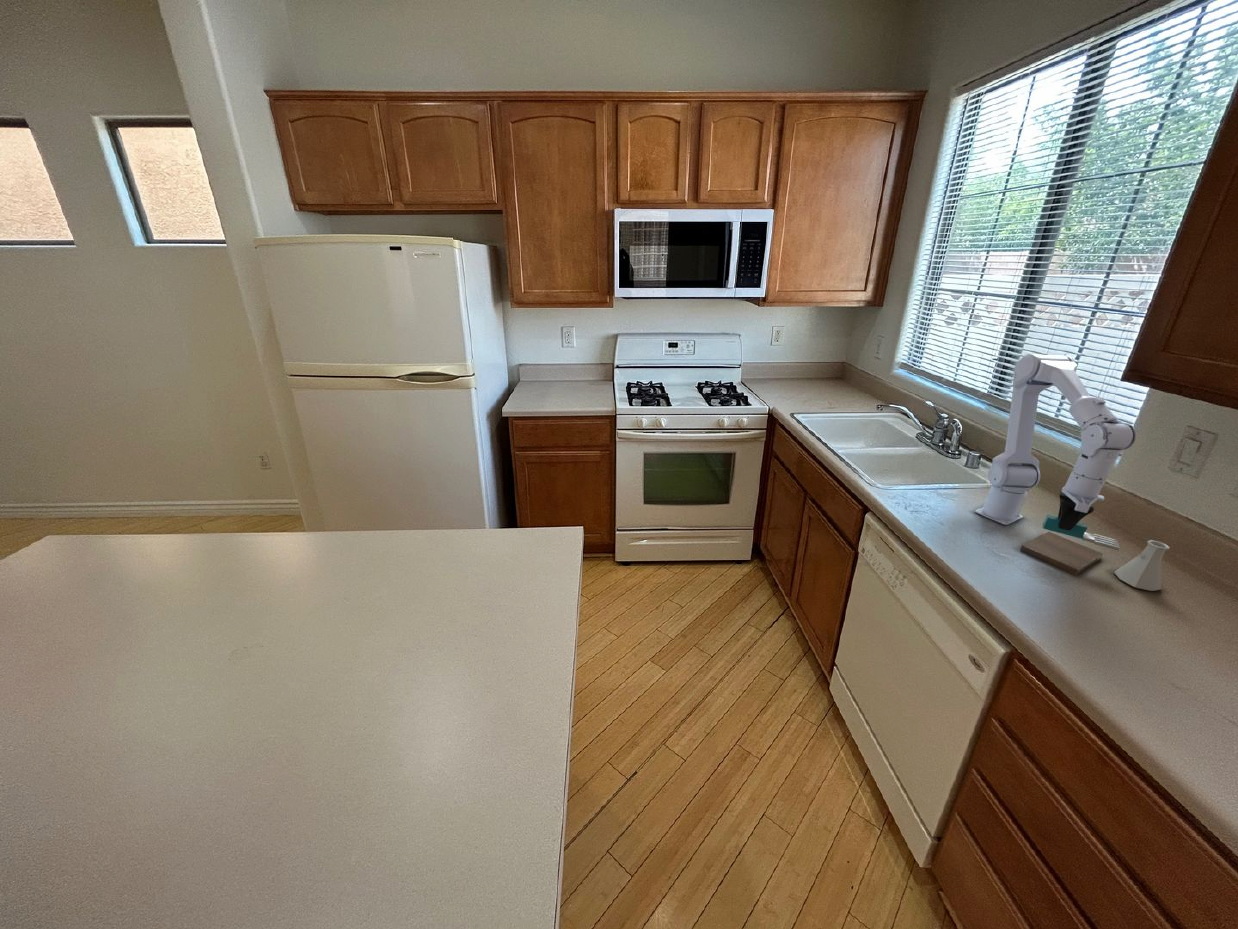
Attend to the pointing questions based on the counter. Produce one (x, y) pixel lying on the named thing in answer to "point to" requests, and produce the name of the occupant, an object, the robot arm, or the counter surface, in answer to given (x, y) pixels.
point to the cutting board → (1061, 552)
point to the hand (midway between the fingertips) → (1063, 526)
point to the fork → (1080, 533)
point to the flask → (1144, 567)
